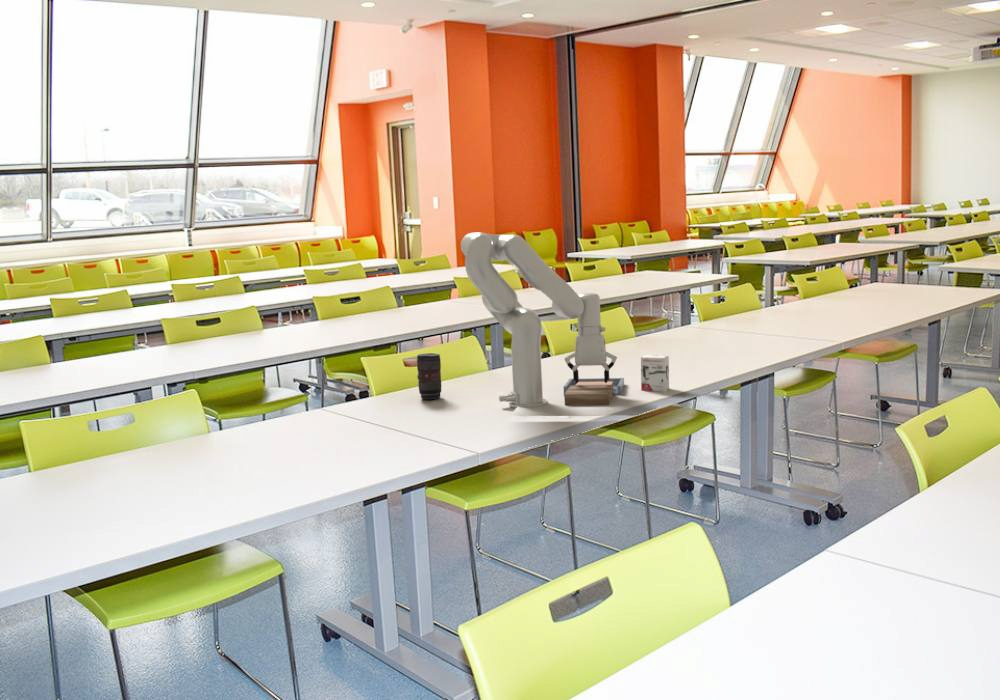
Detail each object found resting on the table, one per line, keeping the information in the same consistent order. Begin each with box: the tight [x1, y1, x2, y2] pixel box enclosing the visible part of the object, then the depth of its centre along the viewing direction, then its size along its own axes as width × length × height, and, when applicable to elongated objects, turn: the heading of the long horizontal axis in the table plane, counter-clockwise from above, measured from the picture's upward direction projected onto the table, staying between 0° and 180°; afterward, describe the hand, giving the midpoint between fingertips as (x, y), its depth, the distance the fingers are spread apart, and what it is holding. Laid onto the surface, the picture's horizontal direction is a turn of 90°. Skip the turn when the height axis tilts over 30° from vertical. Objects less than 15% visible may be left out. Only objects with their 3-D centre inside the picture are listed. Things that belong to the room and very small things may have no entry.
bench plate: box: [563, 385, 614, 406], centre depth 291 cm, size 16×14×4 cm
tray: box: [563, 377, 625, 396], centre depth 306 cm, size 16×19×3 cm
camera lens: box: [416, 353, 442, 400], centre depth 309 cm, size 8×8×15 cm
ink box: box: [640, 354, 670, 393], centre depth 301 cm, size 9×5×12 cm, turn 62°
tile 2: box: [577, 382, 614, 386], centre depth 305 cm, size 4×12×2 cm, turn 78°
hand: (591, 382), depth 297 cm, fingers open, 9 cm apart
